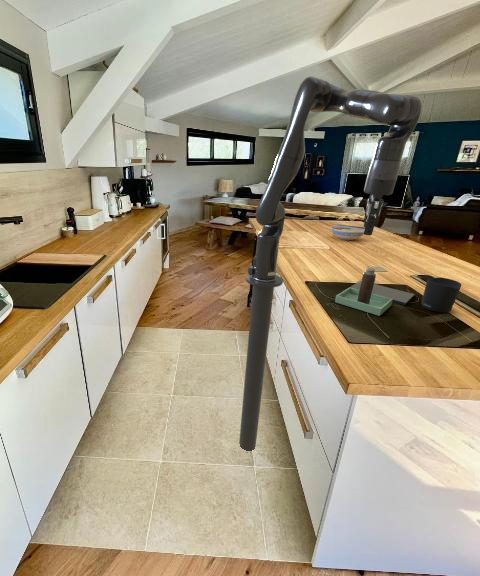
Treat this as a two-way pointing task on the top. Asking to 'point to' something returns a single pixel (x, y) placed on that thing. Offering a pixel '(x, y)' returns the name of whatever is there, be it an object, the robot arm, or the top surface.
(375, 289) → the slate board
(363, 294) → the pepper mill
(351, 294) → the tray
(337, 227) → the ramen bowl
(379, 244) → the top surface
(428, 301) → the pen holder
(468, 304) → the top surface
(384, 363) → the top surface
